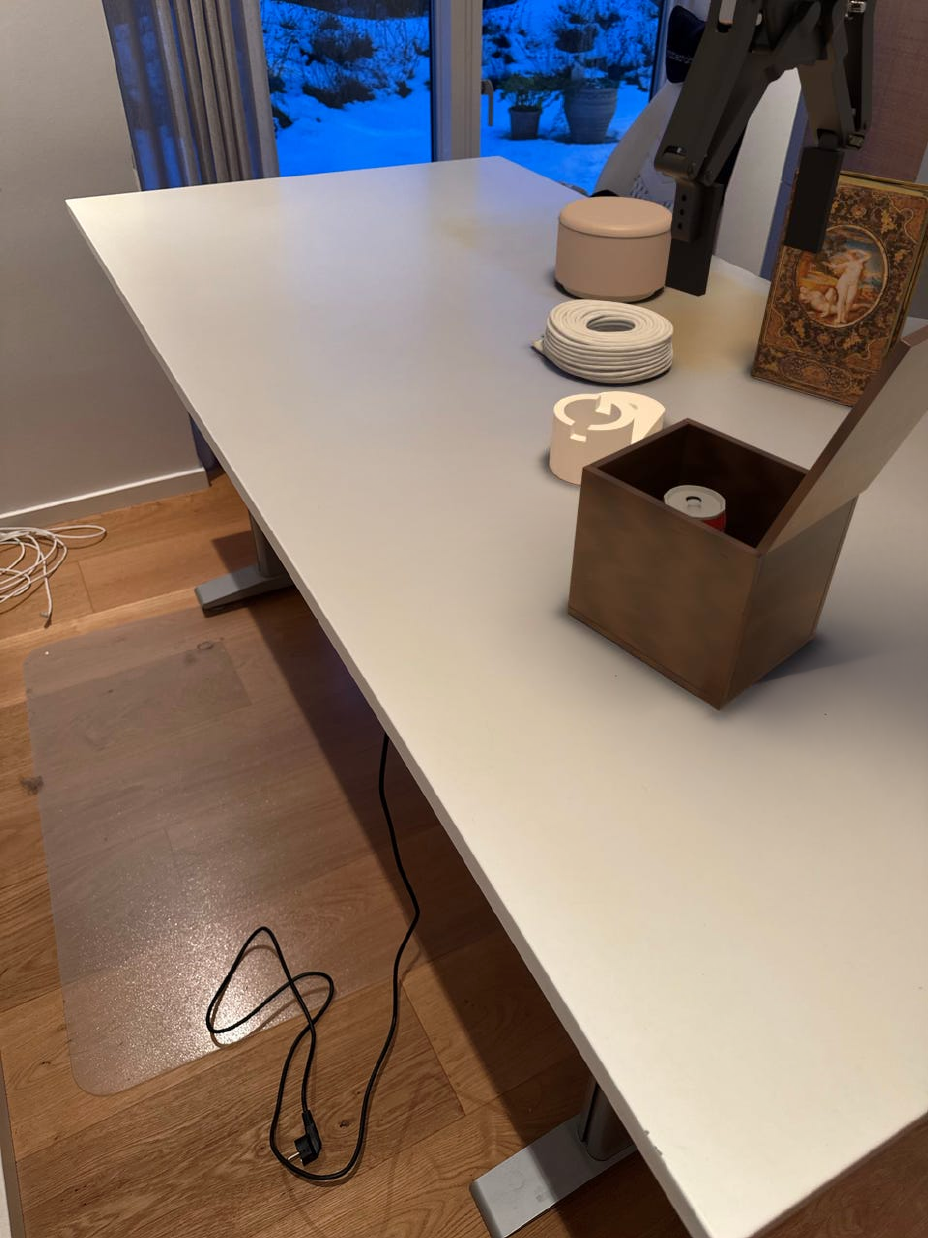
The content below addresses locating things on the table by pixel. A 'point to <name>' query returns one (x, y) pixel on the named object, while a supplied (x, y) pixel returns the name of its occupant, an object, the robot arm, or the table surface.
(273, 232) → the table surface
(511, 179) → the table surface
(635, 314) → the cable
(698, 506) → the soda can
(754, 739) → the table surface
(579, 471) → the bracket
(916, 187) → the book
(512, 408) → the table surface
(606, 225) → the container
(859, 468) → the lid
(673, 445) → the bin
